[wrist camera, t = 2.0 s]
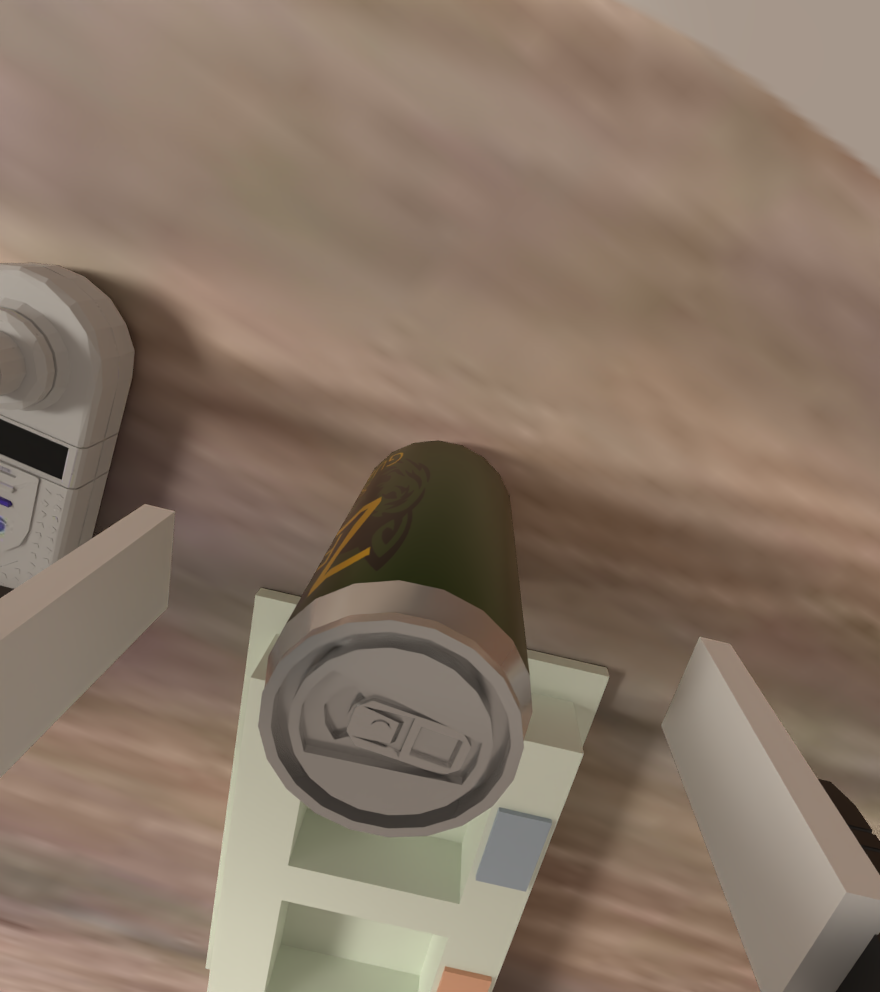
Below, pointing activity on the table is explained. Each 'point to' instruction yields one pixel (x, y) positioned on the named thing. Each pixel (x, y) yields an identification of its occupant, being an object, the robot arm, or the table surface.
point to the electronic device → (55, 412)
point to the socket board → (384, 859)
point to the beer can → (406, 654)
